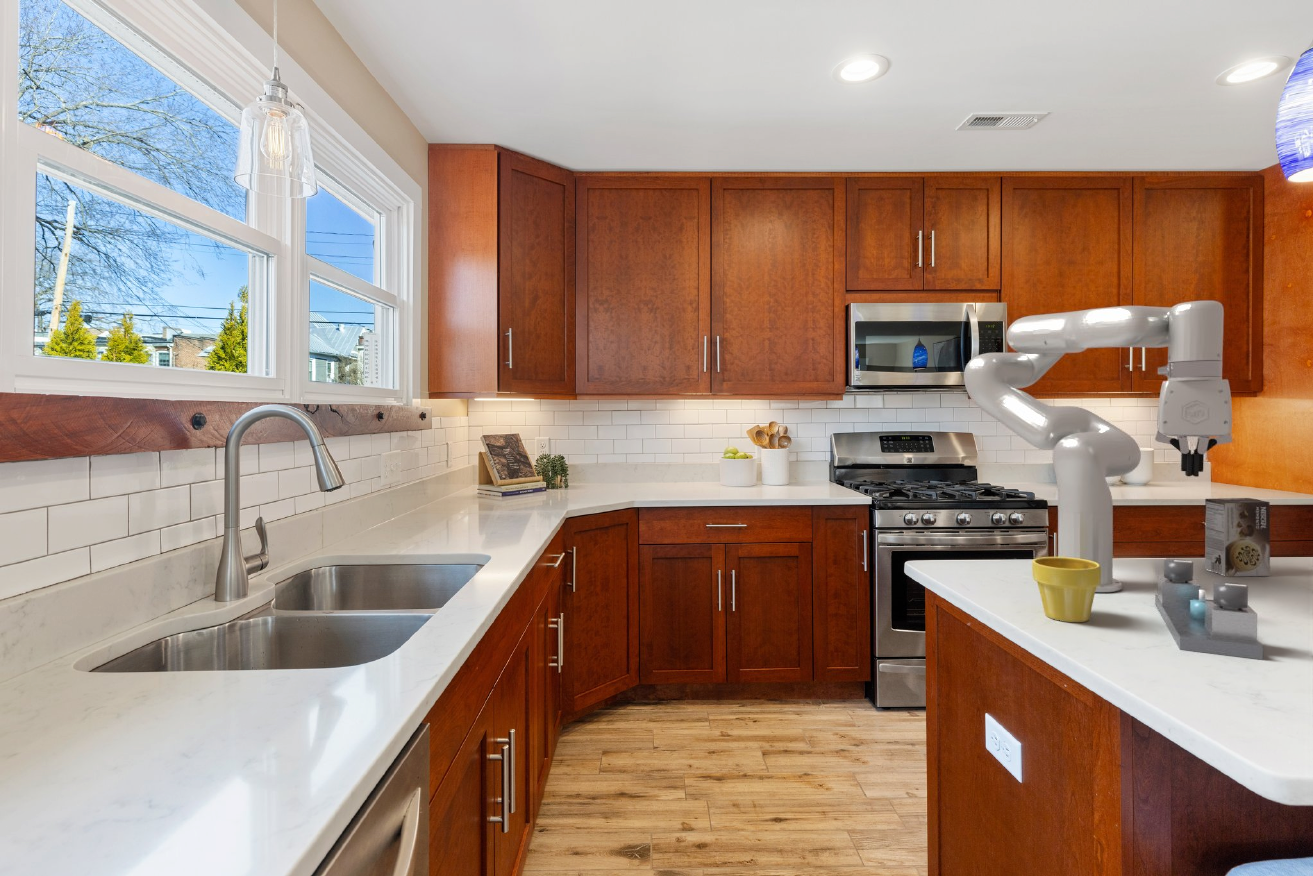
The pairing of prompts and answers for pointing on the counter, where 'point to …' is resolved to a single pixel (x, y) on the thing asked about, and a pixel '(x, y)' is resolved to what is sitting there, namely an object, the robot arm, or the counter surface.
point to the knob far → (1178, 570)
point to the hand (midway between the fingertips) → (1191, 475)
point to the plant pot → (1066, 586)
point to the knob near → (1230, 595)
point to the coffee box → (1237, 536)
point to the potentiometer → (1198, 606)
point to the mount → (1207, 622)
